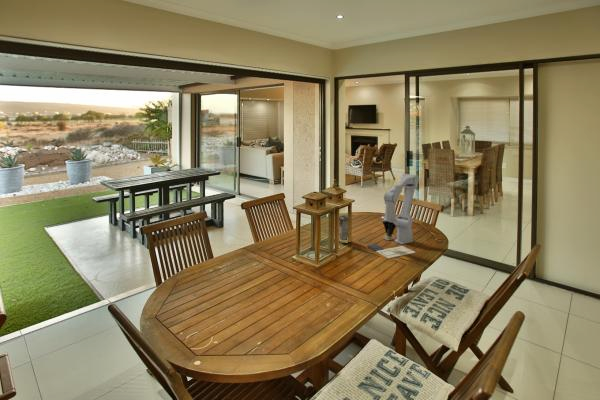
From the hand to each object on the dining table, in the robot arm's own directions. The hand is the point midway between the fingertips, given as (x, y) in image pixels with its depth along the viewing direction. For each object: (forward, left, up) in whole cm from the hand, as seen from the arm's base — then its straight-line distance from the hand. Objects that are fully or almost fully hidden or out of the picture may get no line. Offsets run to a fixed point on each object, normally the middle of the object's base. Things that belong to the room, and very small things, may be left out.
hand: (389, 233), depth 218 cm
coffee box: (+17, -25, -11) cm, 32 cm away
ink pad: (+6, -5, -10) cm, 13 cm away
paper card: (-1, +6, -10) cm, 12 cm away
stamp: (0, 0, -4) cm, 4 cm away
